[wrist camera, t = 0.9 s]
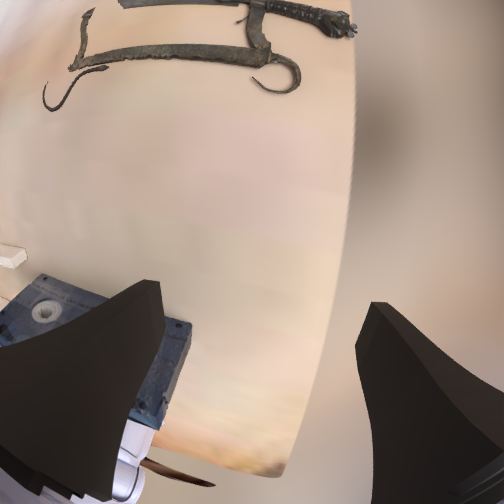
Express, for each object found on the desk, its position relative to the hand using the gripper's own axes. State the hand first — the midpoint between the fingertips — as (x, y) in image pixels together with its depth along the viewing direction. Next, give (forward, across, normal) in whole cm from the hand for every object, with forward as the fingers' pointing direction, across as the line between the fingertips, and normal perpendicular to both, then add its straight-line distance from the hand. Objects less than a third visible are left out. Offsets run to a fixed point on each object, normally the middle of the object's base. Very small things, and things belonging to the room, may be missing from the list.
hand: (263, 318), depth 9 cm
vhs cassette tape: (+11, +15, +10) cm, 21 cm away
